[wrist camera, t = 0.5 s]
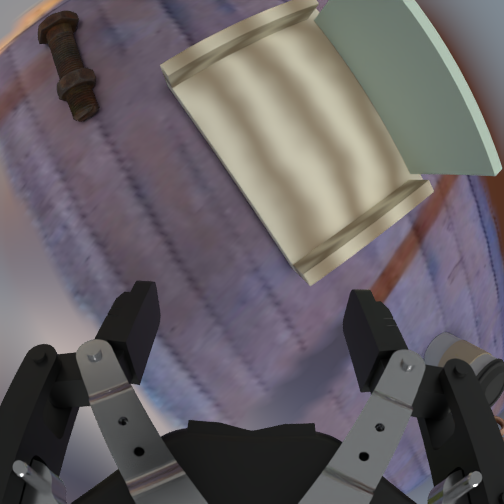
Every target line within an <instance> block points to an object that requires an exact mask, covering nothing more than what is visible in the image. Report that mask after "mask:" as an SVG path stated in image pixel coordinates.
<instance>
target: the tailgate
mask: <svg viewBox="0 0 504 504" xmlns="http://www.w3.org/2000/svg"><path fill="white" fill-rule="evenodd" d="M314 21H315V22H316V24H317V25H318V26H319V27H320V29H321V30H322V31H323V33H324V34H325V35H326V36H327V38H328V39H329V40H330V42H331V43H332V44H333V46H334V47H335V48H336V50H337V51H338V53H339V54H340V55H341V57H342V58H343V60H344V61H345V62H346V64H347V65H348V67H349V68H350V70H351V71H352V73H353V74H354V76H355V77H356V79H357V80H358V82H359V83H360V85H361V86H362V88H363V89H364V91H365V93H366V94H367V96H368V97H369V99H370V101H371V102H372V104H373V106H374V107H375V109H376V111H377V112H378V114H379V116H380V117H381V119H382V121H383V123H384V124H385V126H386V128H387V130H388V131H389V133H390V135H391V137H392V139H393V141H394V143H395V144H396V146H397V148H398V150H399V152H400V154H401V156H402V158H403V160H404V162H405V164H406V166H407V168H408V170H409V172H410V174H456V175H485V176H496V175H497V173H499V172H500V170H501V169H502V166H501V164H500V160H499V158H498V154H497V152H496V149H495V146H494V144H493V141H492V138H491V136H490V133H489V131H488V129H487V126H486V123H485V121H484V119H483V116H482V114H481V112H480V110H479V108H478V105H477V103H476V101H475V99H474V97H473V95H472V93H471V91H470V89H469V87H468V85H467V83H466V81H465V79H464V77H463V75H462V73H461V71H460V70H459V68H458V66H457V64H456V62H455V61H454V59H453V57H452V55H451V54H450V52H449V50H448V49H447V47H446V45H445V44H444V42H443V41H442V39H441V37H440V36H439V34H438V33H437V31H436V30H435V28H434V27H433V25H432V24H431V22H430V21H429V20H428V18H427V17H426V15H425V14H424V12H423V11H422V10H421V8H420V7H419V5H418V4H417V3H416V2H415V0H329V1H328V2H327V4H326V5H325V6H324V8H323V9H322V10H321V12H320V13H319V14H318V16H317V17H316V18H315V20H314Z"/></svg>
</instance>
